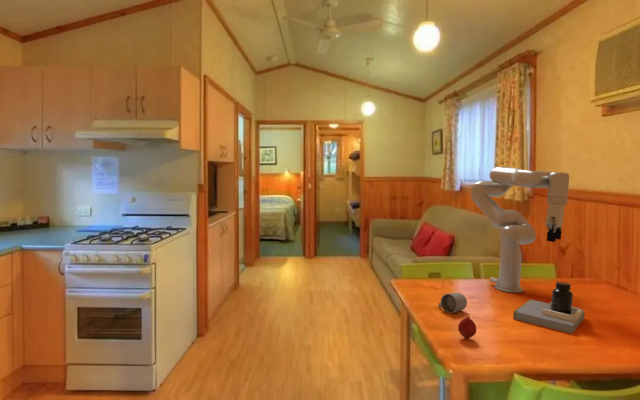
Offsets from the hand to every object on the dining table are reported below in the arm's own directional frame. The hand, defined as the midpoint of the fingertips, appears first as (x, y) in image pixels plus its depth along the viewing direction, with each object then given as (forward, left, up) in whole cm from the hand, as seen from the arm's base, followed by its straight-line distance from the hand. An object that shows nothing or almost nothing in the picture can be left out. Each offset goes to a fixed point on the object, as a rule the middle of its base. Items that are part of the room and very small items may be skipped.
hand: (553, 240), depth 180 cm
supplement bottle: (+9, -21, -26) cm, 34 cm away
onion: (-10, -65, -28) cm, 72 cm away
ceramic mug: (-26, -41, -29) cm, 57 cm away
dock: (+5, -21, -28) cm, 36 cm away
